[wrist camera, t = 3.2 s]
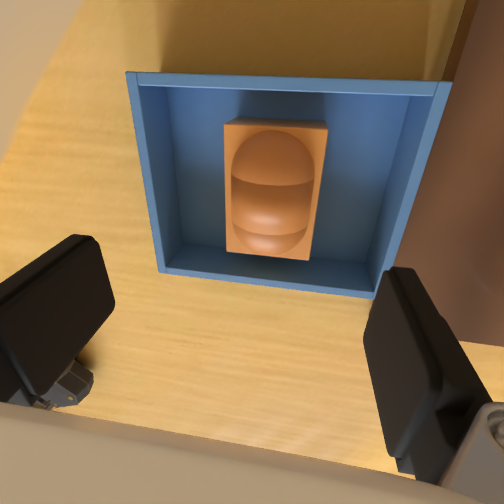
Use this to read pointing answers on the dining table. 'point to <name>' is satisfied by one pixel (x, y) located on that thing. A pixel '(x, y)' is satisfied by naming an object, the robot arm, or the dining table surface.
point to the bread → (272, 184)
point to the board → (465, 187)
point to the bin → (332, 182)
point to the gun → (66, 388)
